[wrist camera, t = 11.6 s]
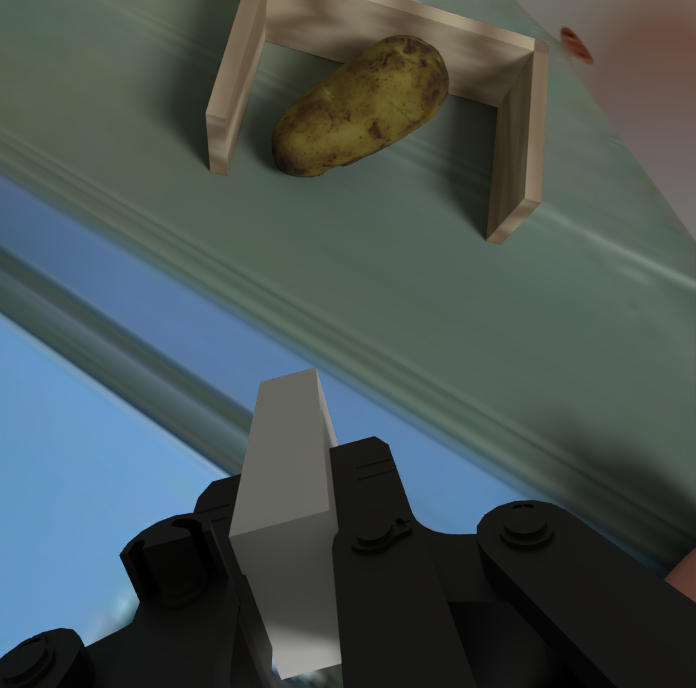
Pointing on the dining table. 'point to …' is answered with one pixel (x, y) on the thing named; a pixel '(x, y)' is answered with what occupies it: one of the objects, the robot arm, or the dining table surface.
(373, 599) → the robot arm
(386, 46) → the potato
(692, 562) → the teapot
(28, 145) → the dining table surface
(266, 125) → the dining table surface
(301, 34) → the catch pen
